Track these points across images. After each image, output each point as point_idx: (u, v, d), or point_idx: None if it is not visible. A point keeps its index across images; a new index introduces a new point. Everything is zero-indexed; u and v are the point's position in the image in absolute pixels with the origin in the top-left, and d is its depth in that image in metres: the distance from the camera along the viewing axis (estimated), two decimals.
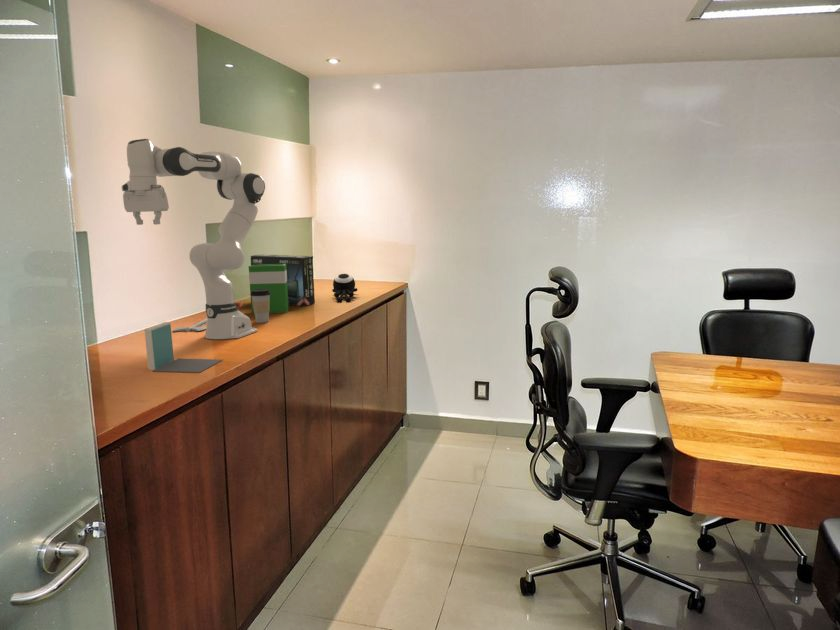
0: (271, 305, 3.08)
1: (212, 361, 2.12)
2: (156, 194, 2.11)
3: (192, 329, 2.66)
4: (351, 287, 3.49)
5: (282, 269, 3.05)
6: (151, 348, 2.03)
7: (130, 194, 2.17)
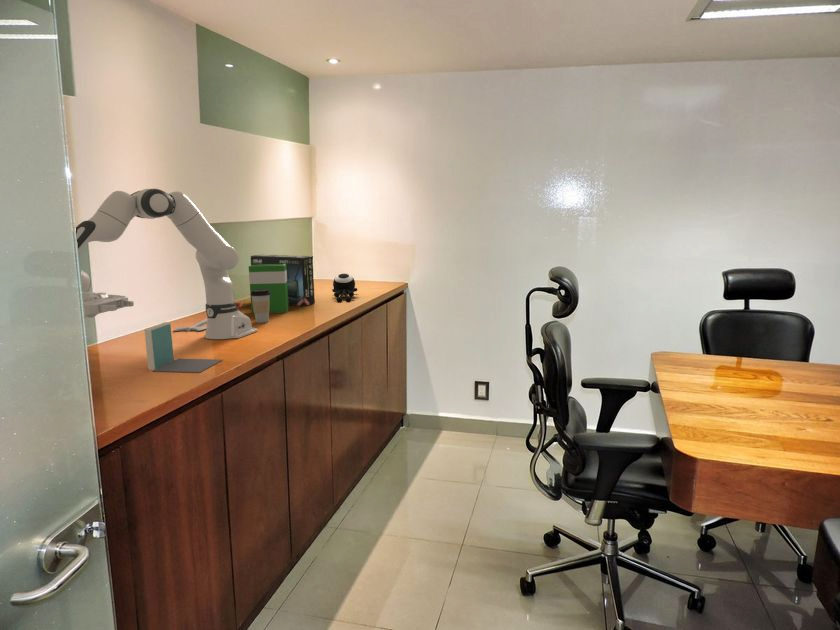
0: (271, 305, 3.08)
1: (212, 361, 2.12)
2: None
3: (192, 329, 2.67)
4: (351, 287, 3.50)
5: (282, 269, 3.05)
6: (151, 348, 2.03)
7: None
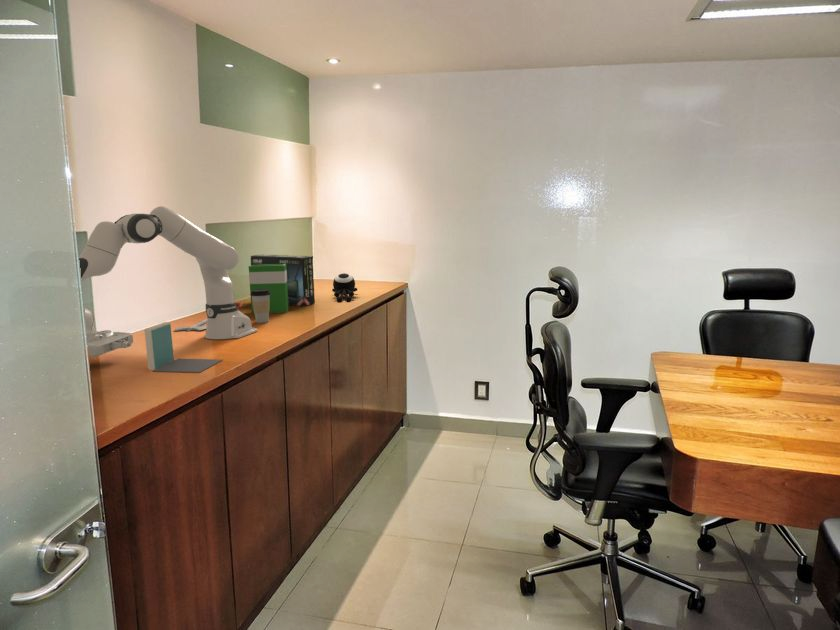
0: (271, 305, 3.08)
1: (212, 361, 2.12)
2: None
3: (193, 329, 2.67)
4: (351, 287, 3.50)
5: (282, 269, 3.05)
6: (151, 348, 2.03)
7: None
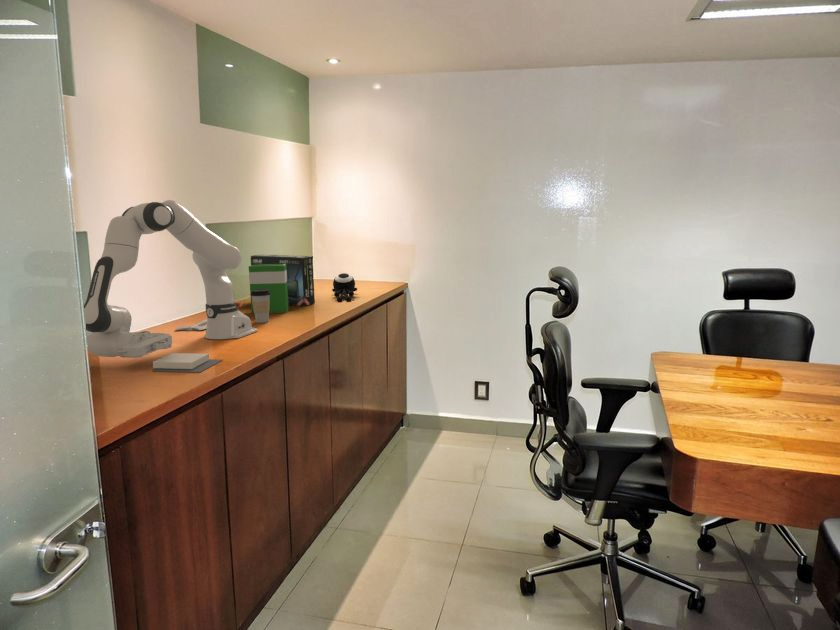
0: (271, 305, 3.08)
1: (212, 361, 2.12)
2: None
3: (194, 328, 2.68)
4: (351, 287, 3.51)
5: (282, 269, 3.05)
6: (173, 367, 2.03)
7: None
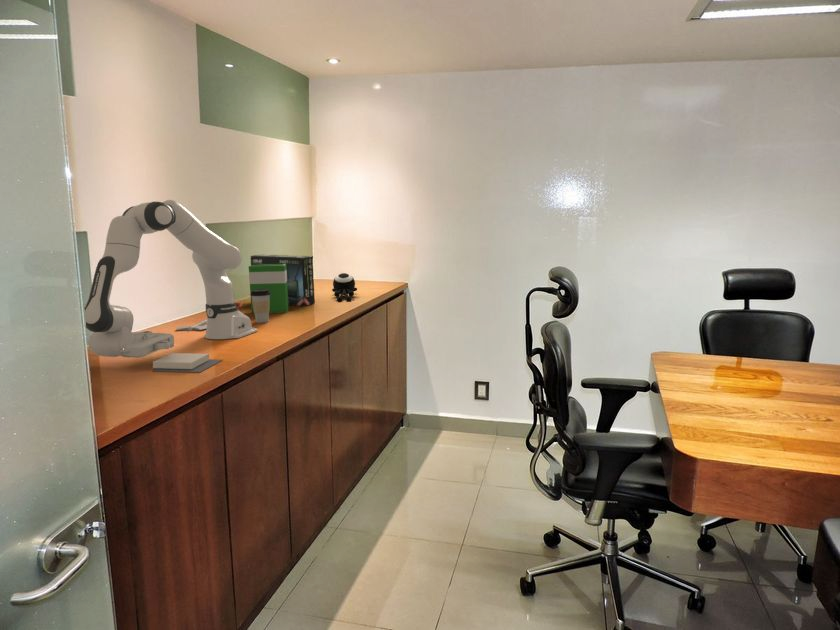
0: (271, 305, 3.08)
1: (212, 361, 2.12)
2: None
3: (194, 328, 2.68)
4: (351, 286, 3.51)
5: (282, 269, 3.05)
6: (173, 367, 2.03)
7: None
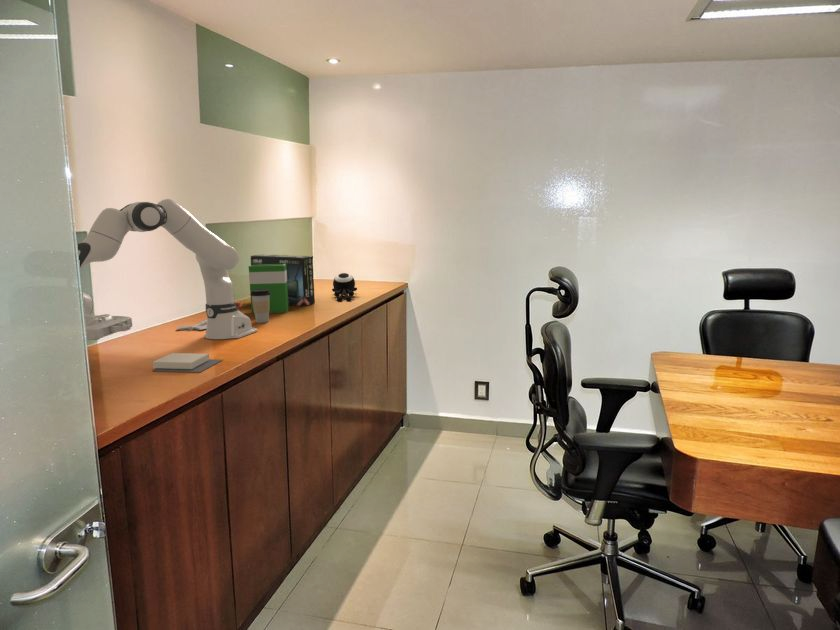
0: (271, 305, 3.08)
1: (212, 361, 2.12)
2: None
3: (195, 328, 2.68)
4: (351, 286, 3.52)
5: (282, 269, 3.05)
6: (173, 367, 2.03)
7: None
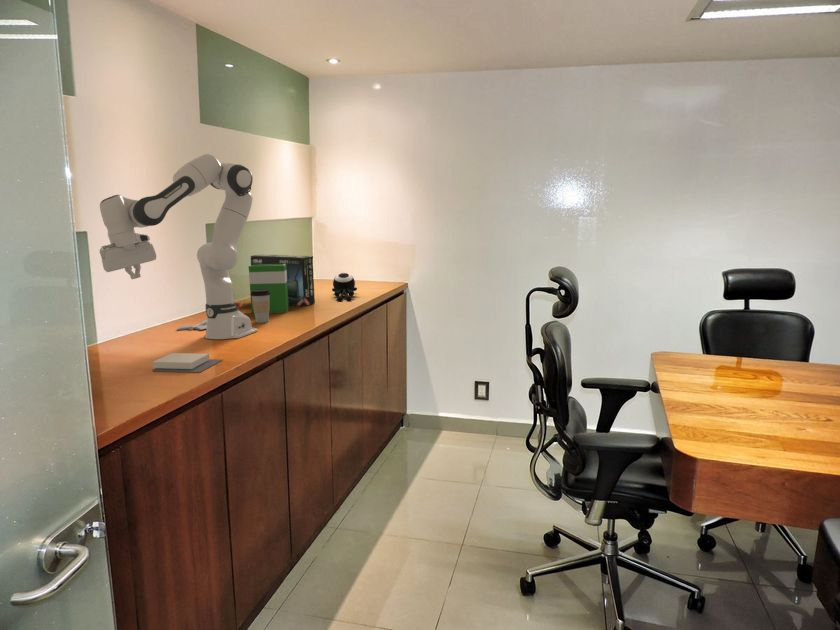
0: (271, 305, 3.08)
1: (212, 361, 2.12)
2: None
3: (195, 328, 2.69)
4: (351, 286, 3.52)
5: (282, 269, 3.05)
6: (173, 367, 2.03)
7: None
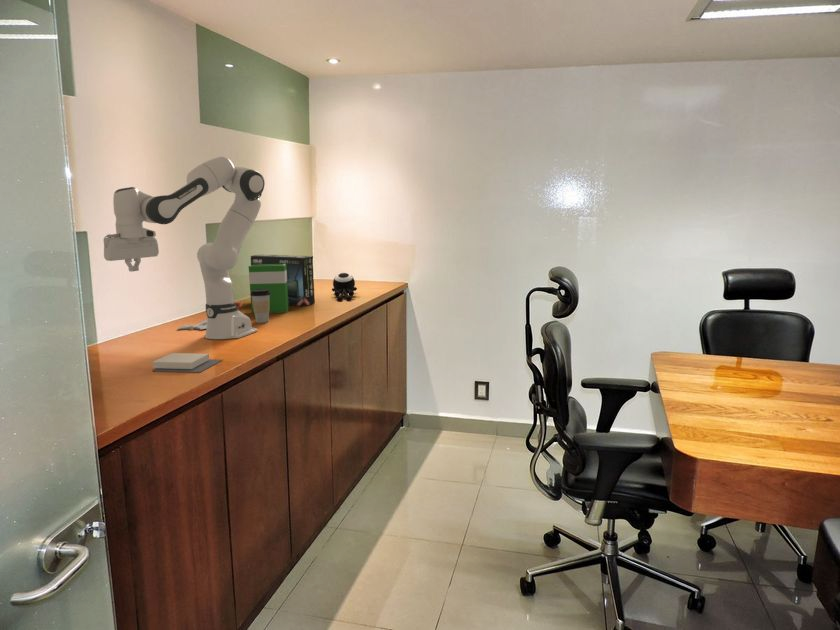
0: (271, 305, 3.08)
1: (212, 361, 2.12)
2: None
3: (196, 328, 2.69)
4: (351, 286, 3.53)
5: (282, 269, 3.05)
6: (173, 367, 2.03)
7: None
